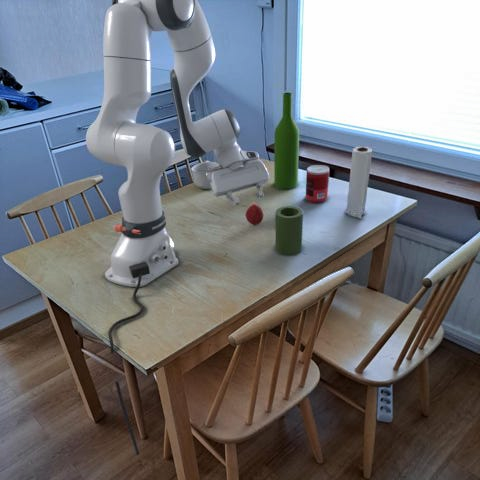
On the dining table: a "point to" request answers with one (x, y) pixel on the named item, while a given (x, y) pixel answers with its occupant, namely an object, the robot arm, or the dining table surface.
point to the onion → (254, 214)
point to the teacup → (202, 174)
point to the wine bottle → (286, 148)
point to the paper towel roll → (358, 181)
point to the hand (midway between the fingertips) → (249, 200)
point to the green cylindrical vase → (289, 230)
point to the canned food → (317, 183)
